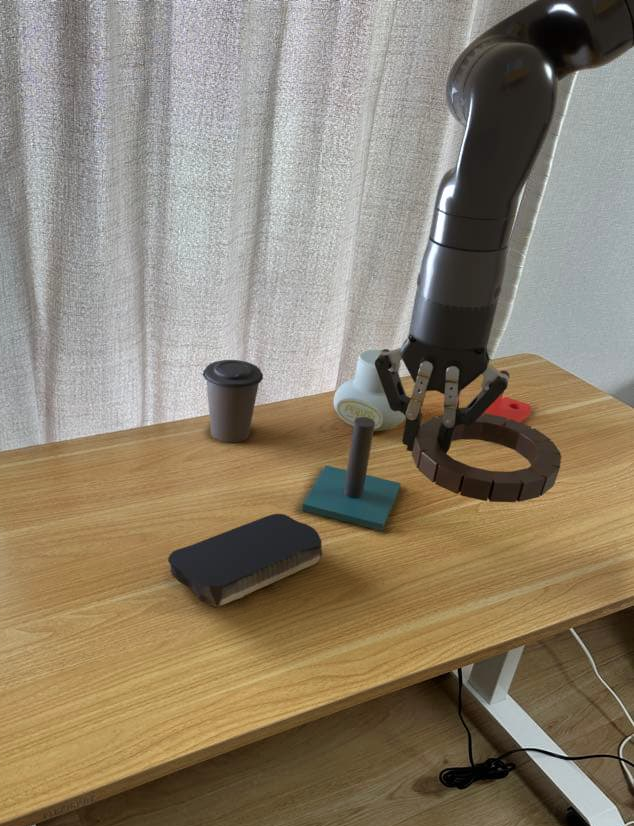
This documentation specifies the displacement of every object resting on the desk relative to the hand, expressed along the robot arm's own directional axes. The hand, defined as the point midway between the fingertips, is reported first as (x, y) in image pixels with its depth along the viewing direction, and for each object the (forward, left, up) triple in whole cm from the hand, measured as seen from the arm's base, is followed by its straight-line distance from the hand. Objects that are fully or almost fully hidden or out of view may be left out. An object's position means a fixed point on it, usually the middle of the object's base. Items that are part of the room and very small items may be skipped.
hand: (424, 450), depth 85 cm
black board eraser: (+15, +12, -13) cm, 23 cm away
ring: (-6, 0, 0) cm, 6 cm away
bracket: (-7, -37, -13) cm, 40 cm away
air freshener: (+11, -28, -13) cm, 33 cm away
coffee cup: (+28, -16, -13) cm, 35 cm away
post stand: (+8, -7, -13) cm, 17 cm away
